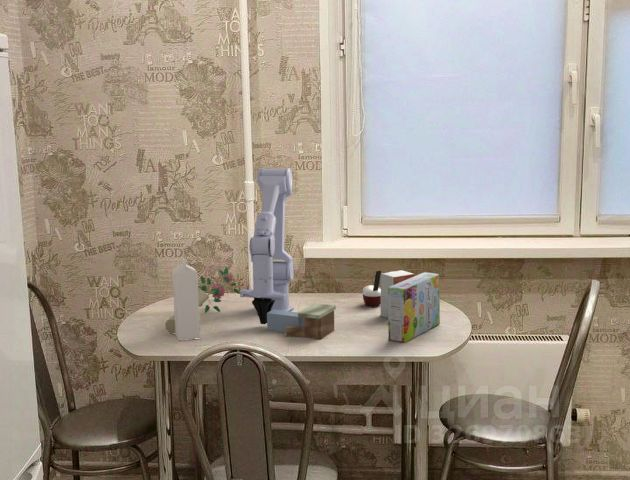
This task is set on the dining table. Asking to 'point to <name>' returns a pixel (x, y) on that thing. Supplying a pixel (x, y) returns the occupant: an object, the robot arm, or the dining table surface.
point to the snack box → (413, 307)
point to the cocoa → (373, 292)
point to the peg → (283, 320)
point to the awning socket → (314, 322)
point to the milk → (186, 302)
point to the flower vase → (206, 296)
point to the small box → (388, 281)
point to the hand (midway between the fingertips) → (264, 323)
